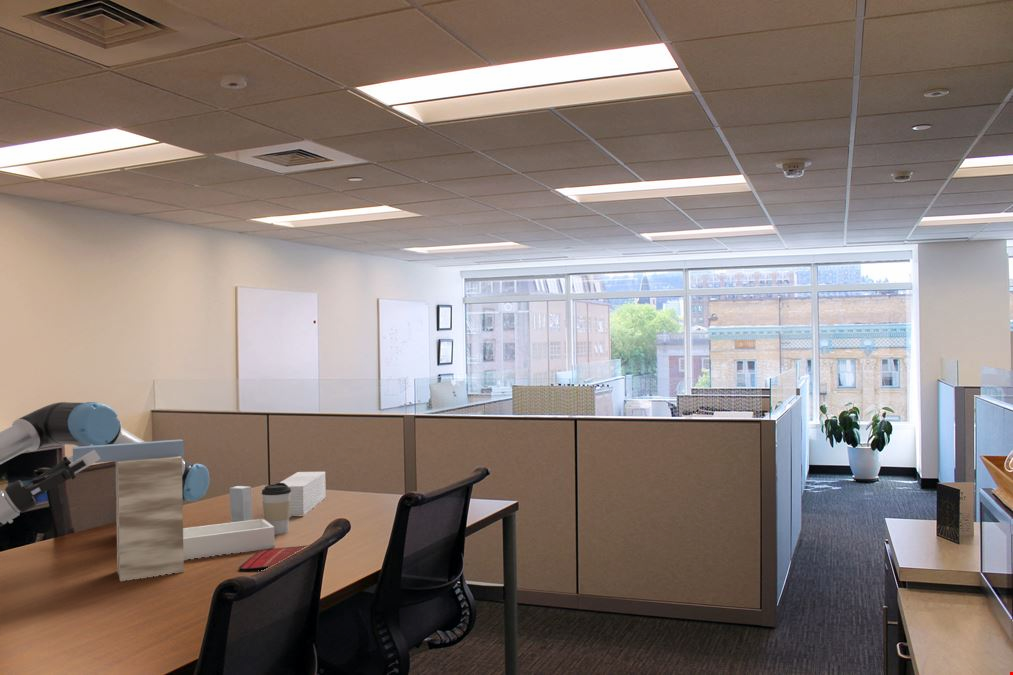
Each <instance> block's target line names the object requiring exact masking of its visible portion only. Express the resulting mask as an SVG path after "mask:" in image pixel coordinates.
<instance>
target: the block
mask: <svg viewBox="0 0 1013 675" xmlns="http://www.w3.org/2000/svg"><path fill="white" fill-rule="evenodd" d="M184 442H185V441H184V440H183V439H181V438H180V439H170V440H169V439H167V440H155V441H145V442H137V443H123V444H109V445H95V446H81V447H79V446H72V456H73V462H74V461H76V460H78V459H79V458H81V457H83V456H84V455H86V454H88V453H90V452H91V451H93V450H95V451H96V453H97V454H98V456H99V457H100V460H98V461H96V462H95V463H94V464H98V463H99V464H100V463H112V462H116V461H125V460H137V459H150V458H162V457H175V456H181V457H184V456H185V443H184Z"/></svg>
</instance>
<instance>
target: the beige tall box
mask: <svg viewBox="0 0 1013 675" xmlns="http://www.w3.org/2000/svg"><path fill="white" fill-rule="evenodd" d="M182 458H183V456H175V457H162V458H150V459H137V460H125V461H115V500H116V501H115V503H116V504H115V505H116V506H115V508H116V509H115V510H116V511H115V512H116V516H115V517H116V519H115V520H116V566H117V568H116V570H117V575H118V578H119V581H120V582H125V581H126V580H127V581H133V579H134V580H139V579H140V578H141V579H148V578H154V577H159V575H161V576H166V575H165V574H168V575H173V574H172V573H175V574H179V573H180V572H181V573H184V572H185V570H184V569H185V567H184V566H185V565H184V561H185V560H184V557H183V528H184V515H183V514H184V512H183V508H184V506H183V502H184V501H183V498H182ZM181 573H180V574H181ZM153 576H154V577H153ZM147 577H148V578H147ZM141 579H140V580H141Z"/></svg>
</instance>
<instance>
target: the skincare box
mask: <svg viewBox="0 0 1013 675" xmlns="http://www.w3.org/2000/svg"><path fill="white" fill-rule="evenodd" d="M252 499H253V498H252V486H245V485H237V486H232V487H229V506H230V507H229V508H230V523H231V522H239V521H247V520H254V518H253V502H252Z"/></svg>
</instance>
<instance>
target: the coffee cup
mask: <svg viewBox="0 0 1013 675" xmlns="http://www.w3.org/2000/svg"><path fill="white" fill-rule="evenodd" d="M290 492H291V488H289V487H288V486H287V485H286V484H284V483H280V482H277V483H275V484H267V485H265V487H264V488H263V489H262V490H261V496H262V511H263V512H262V513H263V519H265V520H266V521H267V522H268V523H270V524H271V525H272V526H274V535H283V534H285V533H288V532H289V525H290V518H291V517H290V502H291V499H290Z"/></svg>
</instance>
